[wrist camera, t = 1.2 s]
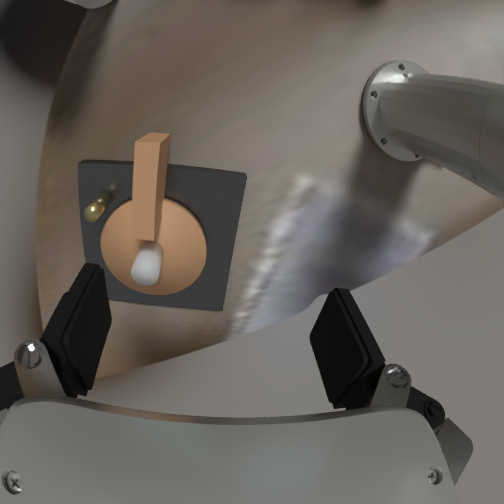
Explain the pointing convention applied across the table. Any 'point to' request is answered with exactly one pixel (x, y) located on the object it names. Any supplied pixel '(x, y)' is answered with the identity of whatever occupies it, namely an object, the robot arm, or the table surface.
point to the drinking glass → (91, 3)
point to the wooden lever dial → (153, 229)
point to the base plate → (186, 194)
